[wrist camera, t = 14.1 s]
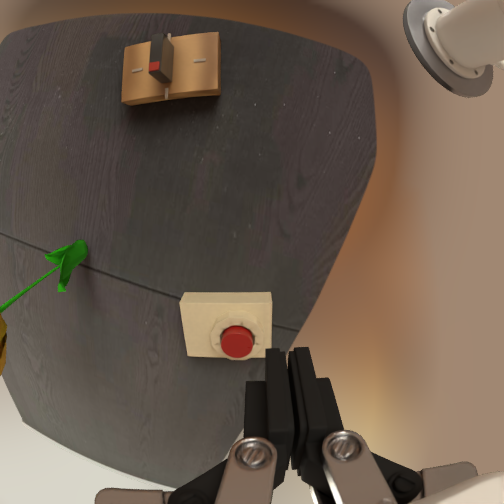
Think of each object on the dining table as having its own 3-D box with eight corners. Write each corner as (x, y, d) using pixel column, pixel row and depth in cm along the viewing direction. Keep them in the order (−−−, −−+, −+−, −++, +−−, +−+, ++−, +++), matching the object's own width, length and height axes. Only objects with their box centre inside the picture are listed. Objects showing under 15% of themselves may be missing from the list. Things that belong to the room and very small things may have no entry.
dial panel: (220, 37, 28) (218, 27, 25) (220, 99, 31) (217, 93, 28) (133, 50, 28) (124, 43, 25) (130, 110, 31) (120, 106, 28)
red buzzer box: (270, 291, 39) (273, 309, 34) (269, 344, 41) (271, 365, 37) (184, 291, 39) (175, 309, 34) (191, 343, 42) (185, 364, 37)
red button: (252, 325, 35) (252, 333, 33) (253, 350, 36) (253, 358, 35) (221, 325, 35) (219, 333, 33) (223, 349, 36) (222, 357, 35)
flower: (63, 261, 38) (-73, 368, 9) (70, 214, 35) (-97, 300, 7) (105, 283, 39) (-22, 424, 10) (115, 235, 36) (-53, 362, 8)
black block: (163, 48, 26) (150, 33, 21) (174, 46, 26) (163, 31, 21) (161, 83, 27) (147, 73, 23) (172, 82, 27) (159, 70, 23)
